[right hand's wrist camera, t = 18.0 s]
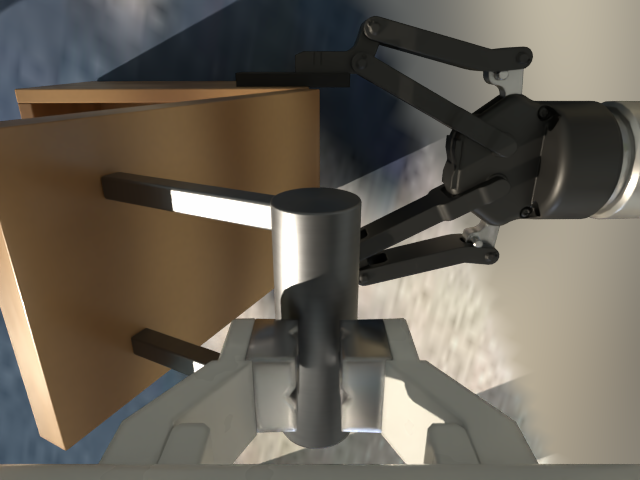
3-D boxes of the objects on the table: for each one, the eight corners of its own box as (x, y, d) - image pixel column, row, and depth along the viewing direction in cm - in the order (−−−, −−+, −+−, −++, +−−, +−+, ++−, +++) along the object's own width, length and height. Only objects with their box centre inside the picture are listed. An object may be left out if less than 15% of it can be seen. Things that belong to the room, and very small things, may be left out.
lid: (39, 436, 14) (292, 581, 10) (-57, 127, 10) (277, 166, 6) (301, 248, 27) (450, 279, 24) (299, 88, 24) (473, 93, 20)
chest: (113, 204, 36) (53, 250, 27) (91, 81, 32) (13, 89, 24) (309, 202, 36) (310, 246, 28) (307, 80, 33) (309, 88, 24)
